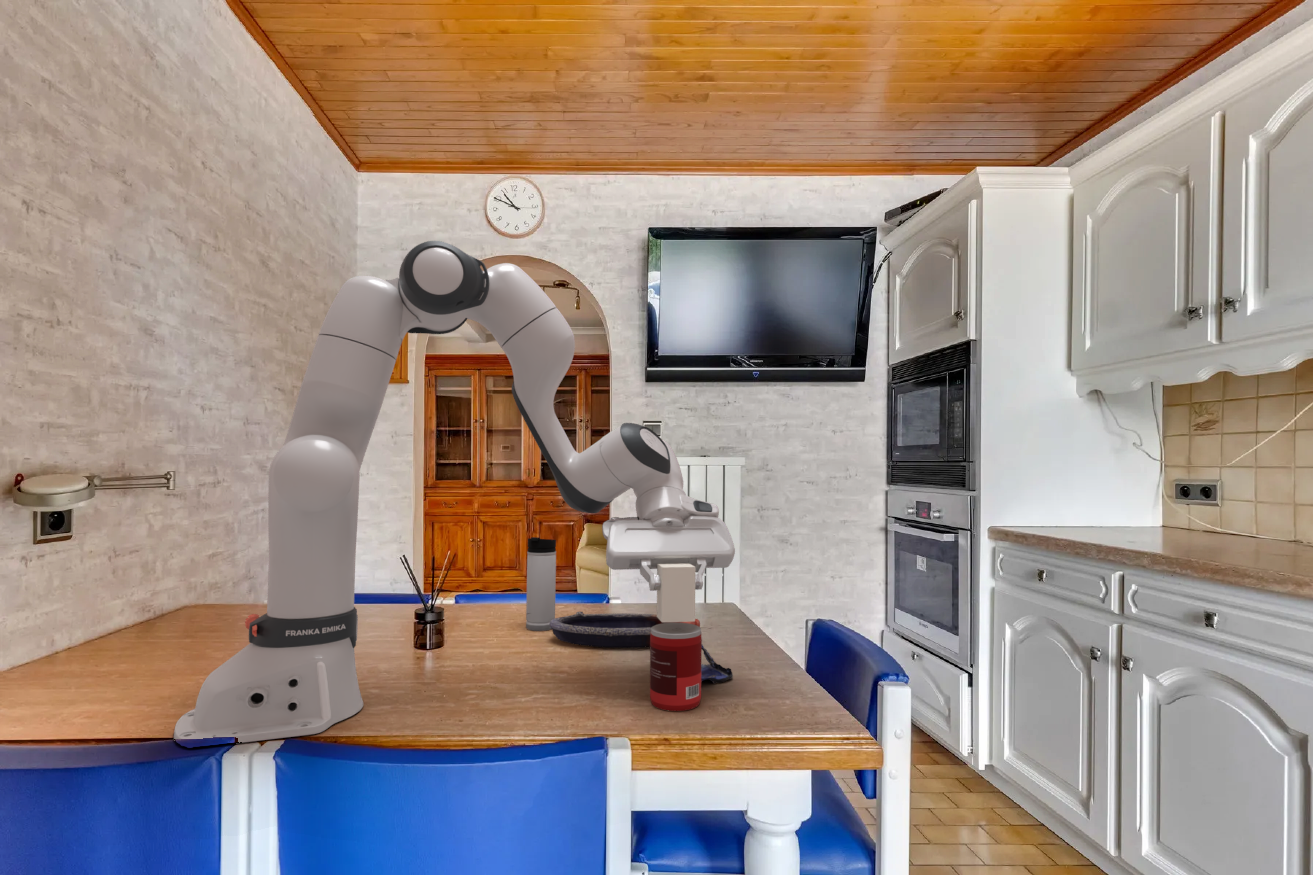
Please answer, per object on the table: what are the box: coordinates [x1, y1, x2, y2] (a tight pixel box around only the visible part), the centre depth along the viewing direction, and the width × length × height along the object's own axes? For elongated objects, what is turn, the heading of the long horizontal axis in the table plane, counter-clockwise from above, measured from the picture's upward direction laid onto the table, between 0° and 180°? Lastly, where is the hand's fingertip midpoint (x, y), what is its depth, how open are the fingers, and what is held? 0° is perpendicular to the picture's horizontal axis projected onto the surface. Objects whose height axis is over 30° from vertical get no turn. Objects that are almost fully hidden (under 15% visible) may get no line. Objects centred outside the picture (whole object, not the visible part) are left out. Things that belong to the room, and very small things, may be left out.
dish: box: [549, 611, 701, 649], centre depth 137 cm, size 16×31×5 cm, turn 88°
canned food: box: [649, 623, 703, 712], centre depth 100 cm, size 8×8×11 cm
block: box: [656, 563, 696, 622], centre depth 101 cm, size 4×5×8 cm
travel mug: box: [525, 536, 557, 632], centre depth 148 cm, size 6×7×20 cm
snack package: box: [701, 644, 734, 685], centre depth 113 cm, size 12×6×12 cm
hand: (676, 587), depth 100 cm, fingers open, 5 cm apart
